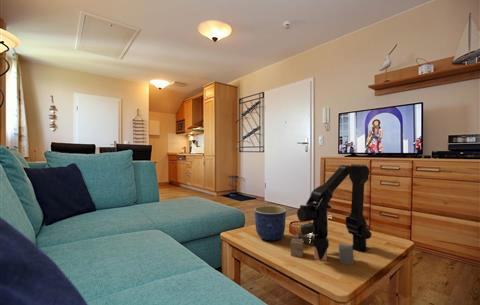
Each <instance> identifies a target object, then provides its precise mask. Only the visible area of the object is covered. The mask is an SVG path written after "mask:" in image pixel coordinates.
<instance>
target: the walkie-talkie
mask: <svg viewBox="0 0 480 305" xmlns="http://www.w3.org/2000/svg"><path fill="white" fill-rule="evenodd" d="M293 239H302V240H303V241H304V242H303V243H305V242H306V244H310V243H309V241H310V240H309V239H311V238H309V237H307V234H306V235H302V233H301V231H300V230H299V232H298V233H296V234H295V235H294V237H293Z"/></svg>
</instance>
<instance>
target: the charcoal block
mask: <svg viewBox="0 0 480 305" xmlns="http://www.w3.org/2000/svg"><path fill="white" fill-rule="evenodd" d="M352 245H353V244H351V245H350V244H342V243H338V260H339V263H340V264H346V265H354V249H353V248H352Z"/></svg>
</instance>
